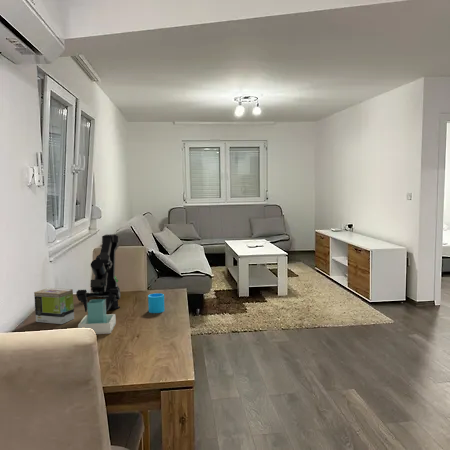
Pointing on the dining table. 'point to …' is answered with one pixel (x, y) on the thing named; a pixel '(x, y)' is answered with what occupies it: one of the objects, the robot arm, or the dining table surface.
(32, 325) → the dining table surface
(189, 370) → the dining table surface
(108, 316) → the white crate
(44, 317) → the tea box
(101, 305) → the teal crate
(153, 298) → the mug
